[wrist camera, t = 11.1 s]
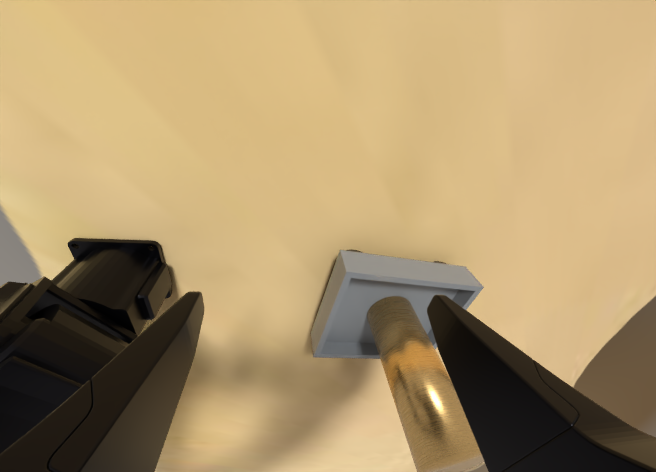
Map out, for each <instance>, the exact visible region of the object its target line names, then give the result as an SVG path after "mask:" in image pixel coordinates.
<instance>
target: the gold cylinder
mask: <svg viewBox="0 0 656 472" xmlns="http://www.w3.org/2000/svg"><path fill="white" fill-rule="evenodd" d="M367 319H368V322H369V325H370V328H371V331H372V334H373V338H374V341H375V344H376V347H377V350H378V353H379V356H380V359H381V362H382V365H383V368H384V371H385V374H386V377H387V380H388V383H389V387H390V390H391V393H392V396H393V399H394V402H395V405H396V408H397V411H398V414H399V417H400V420H401V423H402V426H403V429H404V432H405V436H406V439H407V442H408V445H409V448H410V451H411V454H412V457H413V460H414V463H415V466H416V469H417V472H463V471H465V470H468V469H471V468H473V467H475V466H477V465H479V464H481V463H483V462H484V459H483V457H482V454H481V452H480V449H479V447H478V445H477V442H476V440H475V437H474V435H473V433H472V430H471V428H470V425H469V423H468V420H467V418H466V416H465V413H464V411H463V408H462V406H461V403H460V401H459V399H458V396H457V394H456V391H455V389H454V386H453V384H452V382H451V379H450V377H449V375H448V373H447V371H446V369H445V367H444V366H443V364H442V362H441V360H440V358H439V356H438V354H437V352H436V350H435V348H434V347H433V345H432V343H431V341H430V339H429V337H428V335H427V333H426V331H425V330H424V328H423V326H422V324H421V322H420V320H419V318H418V316H417V314H416V312H415V311H414V309H413V307H412V305H411V303H410V301H409V300H408V299H406V298H404V297H401V296H390V297H386V298H383V299H381V300H379V301H377V302H376V303H374V304H373V305H372V306H371V307H370V309H369V310H368V313H367Z"/></svg>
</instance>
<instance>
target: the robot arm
mask: <svg viewBox="0 0 656 472" xmlns="http://www.w3.org/2000/svg"><path fill="white" fill-rule="evenodd" d="M76 244H77V245H76ZM151 246H153V247H154V248H152V247H151ZM68 247H69V249H70V251H71V253H72V255H73V257H74V260H73V261H72V262H71V263H70V264H69V265H68V266H67V267H66V268H65V269H64V270H63V271H61V272H60V273H59V274H58V275H57V276H56V277H55V278H54V279H53V280H52V281H51V280H49V279H48V278H46V277H43V278H41V279H39V280H37V281H35V282H33V283H30V284H27V283H16V282H7V283H5V284H4V285H2V286H0V472H154V471H155V468H156V465H157V463H158V460H159V457H160V454H161V451H162V448H163V445H164V442H165V440H166V437H167V434H168V431H169V428H170V425H171V422H172V419H173V417H174V414H175V411H176V408H177V405H178V402H179V399H180V396H181V394H182V391H183V388H184V385H185V382H186V379H187V376H188V373H189V371H190V368H191V365H192V362H193V359H194V355H195V351H196V347H197V342H198V338H199V333H200V329H201V324H202V320H203V315H204V303H203V297H202V293H201V292H188V293H186V294H185V295H184V296H183V297H182V298H180V299H179V300H178V301H177V302H176V303H175V304H174V305H173V306H172V307H170V308H169V309H168V310H167V311H166V312H165V313H164V314H163V315H161V316H160V317H159V318H158V319H157V320H156V321H155V322H154V323H153V324H151V325H150V326H149V327H148V328H147V329H146V330H145V331H144V332H142V333H141V331H142V329H143V327H144V326H145V324H146V322H147V320H152V319H153V318H155V317H156V315H157V313H158V311H159V309H160V307H161V305H162V303H163V301H164V299H165V298H169V297H170V296H171V294H172V289H171V285H172V282H171V278H170V274H169V270H168V266H167V264H166V263H165V262H164V259H163V255H162V251H161V247H160V245H159V243H158V242H156V241H148V240H117V239H86V238H74V239H72V240H71V241H69V242H68ZM427 315H428V318H429V321H430V324H431V328H432V331H433V334H434V338H435V341H436V344H437V347H438V350H439V352H440V355H441V357H442V360H443V362H444V365H445V367H446V370H447V372H448V374H449V377H450V379H451V382H452V384H453V386H454V389H455V391H456V394H457V396H458V399H459V401H460V403H461V406H462V408H463V411H464V413H465V416H466V418H467V420H468V423H469V425H470V428H471V430H472V433H473V435H474V437H475V440H476V442H477V445H478V447H479V449H480V452H481V454H482V457H483V459H484V462H485V464H486V466H487V469H488V471H489V472H656V437H653V436H651V435H648V434H646V433H644V432H642V431H640V430H638V429H636V428H634V427H632V426H630V425H629V424H627V423H625V422H624V421H622V420H621V419H619V418H618V417H616V416H615V415H613V414H612V413H610V412H609V411H607V410H606V409H604V408H603V407H601V406H600V405H598V404H597V403H595V402H594V401H592V400H591V399H589V398H588V397H586V396H584V395H583V394H582V393H580V392H579V391H577V390H576V389H574V388H573V387H571V386H570V385H568V384H567V383H565V382H564V381H562V380H561V379H559V378H558V377H557V376H555V375H554V374H552V373H551V372H550V371H548V370H547V369H545V368H544V367H543V366H541V365H540V364H539V363H537V362H536V361H534V360H532V358H530V357H529V356H528V355H526V354H525V353H524V352H522V351H521V350H519V349H518V348H517V347H515V346H514V345H513V344H511V343H510V342H509V341H507V340H506V339H504V338H503V337H502V336H500V335H499V334H498V333H496V332H495V331H494V330H492V329H491V328H489V327H488V326H487V325H485V324H484V323H483V322H481V321H480V320H479V319H477V318H476V317H474V316H473V315H472V314H470V313H469V312H468V311H466V310H465V309H464V308H462V307H461V306H459V305H458V304H457V303H455V302H454V301H453V300H451V299H450V298H448V297H447V296H446V295H434V296H433V298H432V300H431V302H430V304H429V305H428V308H427ZM140 333H141V334H140Z"/></svg>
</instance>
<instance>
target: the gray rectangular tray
mask: <svg viewBox="0 0 656 472" xmlns="http://www.w3.org/2000/svg"><path fill="white" fill-rule="evenodd" d="M483 288H484V287H483V286H482V285H481V283H480V282H479V281H478V280H477V279H476V278H475V277H474V276H473V274H472V273H471V272H470V271H469V270H468V269H467V268H466V267H464V266H456V265H449V264H446V263H443V262H439V261H435V262H426V261H419V260H411V259H404V258H396V257H389V256H382V255H374V254H367V253H362V252H360V251H357V250H346V251H344V250H340V251H339V254H338V257H337V260H336V263H335V266H334V268H333V271H332V274H331V277H330V280H329V283H328V286H327V288H326V291H325V294H324V297H323V300H322V303H321V305H320V308H319V311H318V314H317V317H316V320H315V322H314V325H313V328H312V331H311V340H312V350H313V357H323V358H373V359H380V356H379V353H378V350H377V347H376V344H375V341H374V338H373V334H372V331H371V328H370V325H369V322H368V319H367V313H368V310H369V309H370V307H371V306H372V305H373V304H374V303H376V302H377V301H379V300H381V299H383V298H386V297H390V296H401V297H404V298H406V299H408V300H409V301H410V303H411V305H412V307H413V309H414V311H415V312H416V314H417V316H418V318H419V320H420V322H421V324H422V326H423V328H424V330H425V331H426V333H427V335H428V337H429V339H430V341H431V343H432V345H433V347H434V348H435V349H436V348H437V344H436V341H435V338H434V334H433V331H432V328H431V324H430V321H429V318H428V315H427V308H428V305H429V304H430V302H431V300H432V298H433V296H434V295H446V296H447V297H448V298H450V299H451V300H453V301H454V302H455V303H457V304H458V305H459V306H461V307H462V308H464V309H465V310H466V309H467V308H468V307H469V305H470V304H471V303H472V302H473V300H474V299H475V298H476V297H477V295H478V294H479V293H480V291H481V290H482V289H483Z"/></svg>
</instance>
